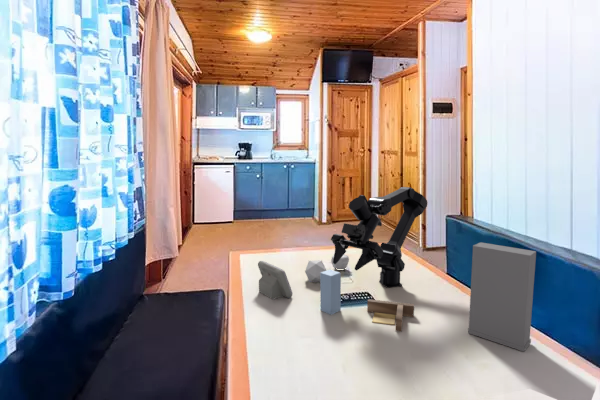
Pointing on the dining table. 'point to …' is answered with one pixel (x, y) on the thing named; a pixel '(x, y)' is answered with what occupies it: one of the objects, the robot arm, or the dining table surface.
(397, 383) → the dining table surface
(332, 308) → the large blue square block
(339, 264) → the apple
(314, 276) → the die
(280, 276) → the digital clock
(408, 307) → the wooden t-shaped piece
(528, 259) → the grey upright tombstone
